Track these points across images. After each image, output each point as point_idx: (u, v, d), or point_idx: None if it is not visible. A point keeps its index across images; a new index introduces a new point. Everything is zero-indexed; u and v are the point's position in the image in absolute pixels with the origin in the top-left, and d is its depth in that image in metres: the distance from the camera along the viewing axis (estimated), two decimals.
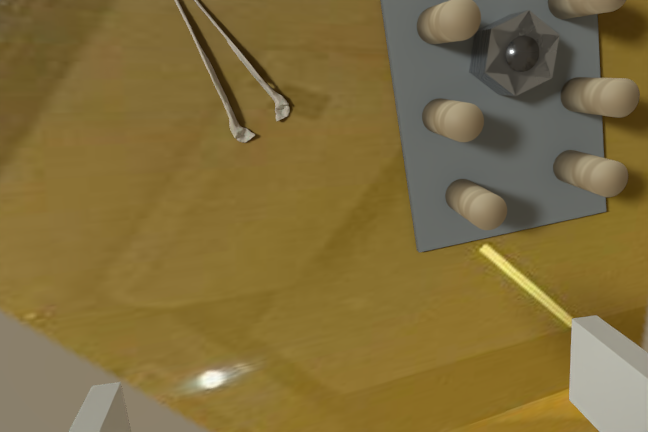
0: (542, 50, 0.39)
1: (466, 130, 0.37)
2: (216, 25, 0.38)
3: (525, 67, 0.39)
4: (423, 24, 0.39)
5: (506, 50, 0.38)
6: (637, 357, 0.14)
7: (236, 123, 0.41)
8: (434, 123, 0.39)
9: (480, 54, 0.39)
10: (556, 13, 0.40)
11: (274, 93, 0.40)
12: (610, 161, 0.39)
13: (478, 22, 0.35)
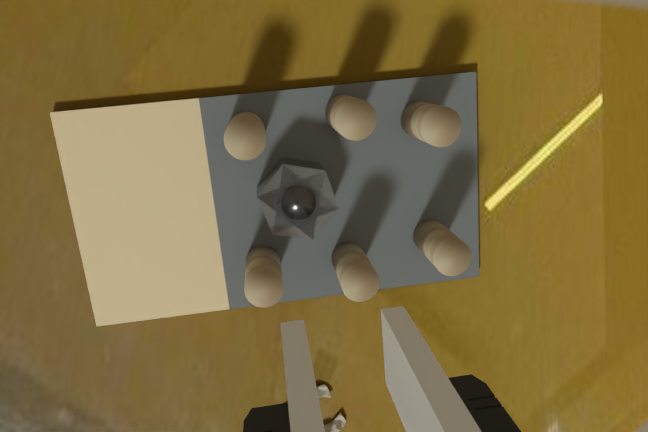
0: (296, 182, 0.38)
1: (368, 282, 0.38)
2: None
3: (312, 199, 0.38)
4: None
5: (294, 218, 0.38)
6: (411, 342, 0.16)
7: (328, 428, 0.47)
8: None
9: None
10: None
11: None
12: (422, 128, 0.35)
13: (268, 273, 0.36)
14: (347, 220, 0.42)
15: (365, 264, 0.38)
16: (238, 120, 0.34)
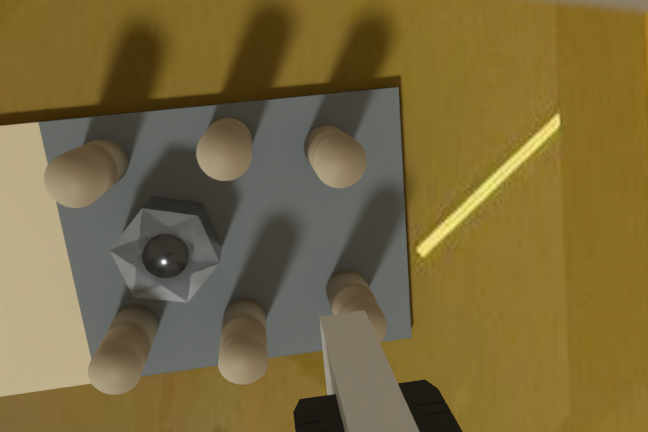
0: (161, 230, 0.29)
1: (252, 359, 0.29)
2: None
3: (183, 251, 0.30)
4: None
5: (160, 277, 0.30)
6: (367, 347, 0.16)
7: None
8: None
9: None
10: (119, 180, 0.31)
11: None
12: (314, 163, 0.27)
13: (118, 351, 0.28)
14: (241, 272, 0.34)
15: (249, 336, 0.29)
16: (62, 155, 0.25)
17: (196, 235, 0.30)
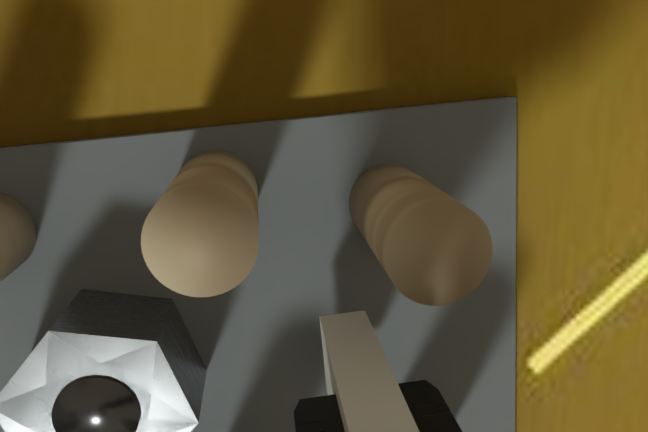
0: (87, 370, 0.15)
1: None
2: None
3: (129, 405, 0.16)
4: None
5: None
6: (367, 346, 0.16)
7: None
8: None
9: None
10: (17, 267, 0.17)
11: None
12: (387, 258, 0.13)
13: None
14: (239, 411, 0.20)
15: None
16: None
17: (154, 376, 0.16)
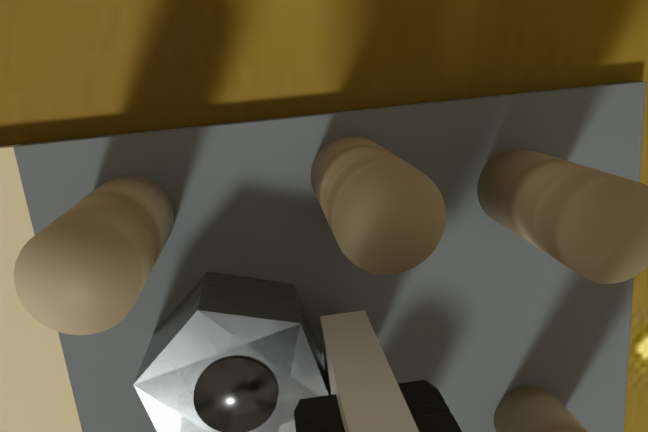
0: (231, 350, 0.16)
1: None
2: None
3: (268, 386, 0.16)
4: None
5: (225, 430, 0.16)
6: (367, 347, 0.16)
7: None
8: None
9: None
10: None
11: None
12: (565, 236, 0.13)
13: None
14: None
15: None
16: (53, 230, 0.12)
17: (294, 358, 0.16)
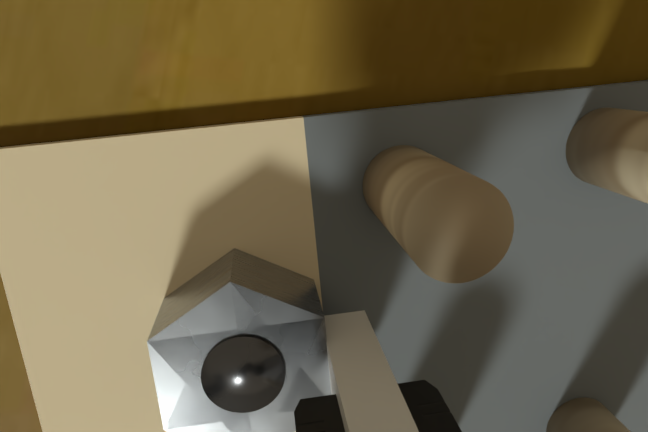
0: (251, 328, 0.16)
1: None
2: None
3: (277, 373, 0.16)
4: None
5: (223, 406, 0.16)
6: (367, 347, 0.16)
7: None
8: None
9: None
10: None
11: None
12: None
13: None
14: (584, 359, 0.21)
15: None
16: (449, 183, 0.13)
17: (309, 350, 0.16)
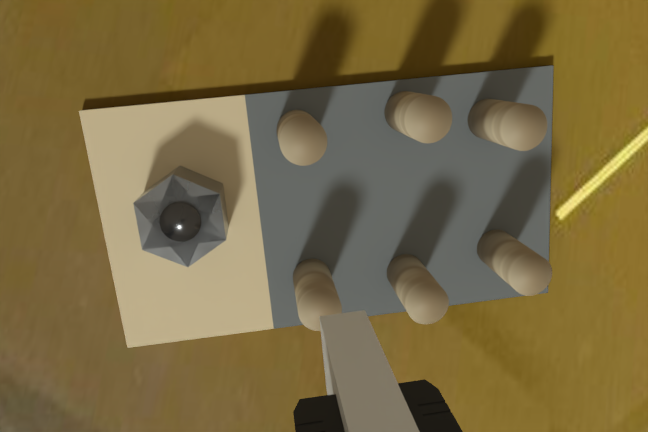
0: (183, 198, 0.32)
1: (436, 302, 0.33)
2: None
3: (197, 221, 0.33)
4: None
5: (171, 238, 0.33)
6: (367, 347, 0.16)
7: None
8: None
9: None
10: None
11: None
12: (503, 128, 0.31)
13: (325, 292, 0.32)
14: (405, 231, 0.38)
15: (433, 282, 0.33)
16: (296, 120, 0.30)
17: (213, 210, 0.33)
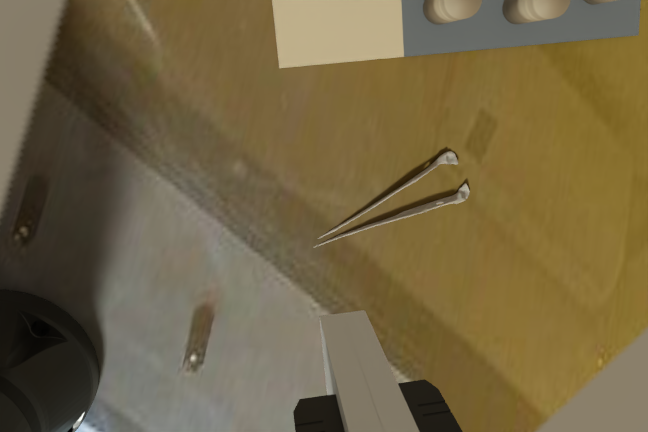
0: None
1: None
2: (377, 204, 0.47)
3: None
4: (443, 23, 0.42)
5: None
6: (367, 347, 0.16)
7: (454, 197, 0.48)
8: None
9: None
10: None
11: (436, 164, 0.47)
12: None
13: None
14: None
15: None
16: None
17: None
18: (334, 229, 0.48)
